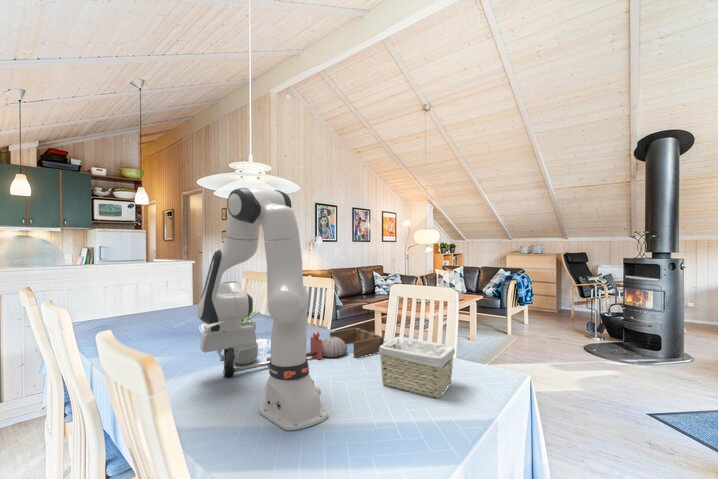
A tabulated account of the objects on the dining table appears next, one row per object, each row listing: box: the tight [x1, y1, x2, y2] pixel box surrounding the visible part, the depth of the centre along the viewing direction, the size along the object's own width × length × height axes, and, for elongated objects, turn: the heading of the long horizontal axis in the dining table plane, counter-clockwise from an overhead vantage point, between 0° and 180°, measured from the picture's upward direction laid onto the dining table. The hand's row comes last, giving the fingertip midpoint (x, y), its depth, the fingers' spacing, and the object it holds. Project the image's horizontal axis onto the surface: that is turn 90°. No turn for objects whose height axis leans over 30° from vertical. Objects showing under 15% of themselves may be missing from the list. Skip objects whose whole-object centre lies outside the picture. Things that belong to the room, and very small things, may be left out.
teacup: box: [234, 341, 259, 366], centre depth 150 cm, size 14×11×8 cm
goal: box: [329, 327, 384, 359], centre depth 169 cm, size 22×16×7 cm
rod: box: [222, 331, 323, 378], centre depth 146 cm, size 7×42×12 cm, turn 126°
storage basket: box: [378, 336, 456, 399], centre depth 127 cm, size 24×16×15 cm
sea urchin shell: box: [322, 336, 348, 358], centre depth 162 cm, size 13×14×8 cm
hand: (229, 359), depth 135 cm, fingers open, 4 cm apart
